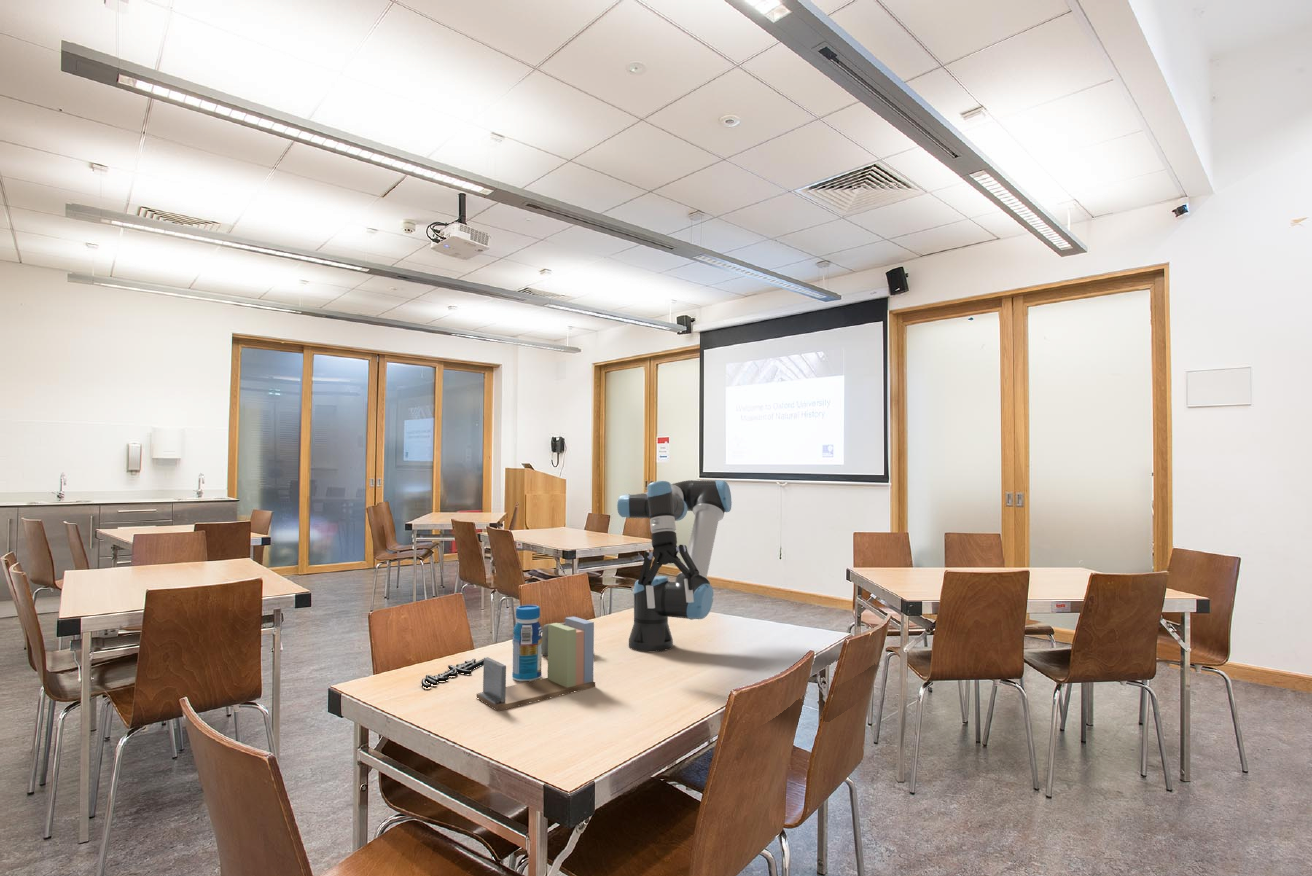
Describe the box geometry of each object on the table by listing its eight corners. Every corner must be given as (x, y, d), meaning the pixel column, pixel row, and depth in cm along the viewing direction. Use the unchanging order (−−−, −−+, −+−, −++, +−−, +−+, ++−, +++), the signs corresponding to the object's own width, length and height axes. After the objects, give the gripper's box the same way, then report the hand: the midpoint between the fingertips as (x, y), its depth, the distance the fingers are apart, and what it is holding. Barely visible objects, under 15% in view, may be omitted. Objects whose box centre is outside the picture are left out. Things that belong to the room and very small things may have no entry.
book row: (573, 673, 184) (573, 616, 185) (593, 681, 177) (593, 622, 178) (547, 678, 179) (548, 620, 180) (567, 687, 171) (567, 626, 172)
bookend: (487, 692, 167) (488, 657, 168) (505, 702, 159) (506, 665, 160) (478, 694, 165) (479, 658, 166) (496, 704, 158) (496, 667, 158)
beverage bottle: (505, 679, 182) (506, 607, 184) (526, 671, 189) (528, 602, 191) (526, 684, 178) (528, 611, 179) (548, 676, 185) (549, 606, 186)
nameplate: (440, 686, 172) (408, 683, 174) (440, 692, 172) (408, 689, 174) (493, 659, 198) (464, 657, 201) (493, 664, 198) (464, 662, 201)
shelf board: (571, 676, 185) (571, 672, 185) (595, 686, 176) (595, 682, 176) (476, 698, 166) (476, 693, 166) (497, 711, 157) (497, 706, 157)
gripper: (623, 538, 196) (628, 610, 189) (691, 523, 183) (700, 599, 175) (637, 541, 202) (643, 610, 194) (705, 525, 188) (714, 599, 181)
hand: (670, 605), depth 185 cm, fingers open, 13 cm apart
